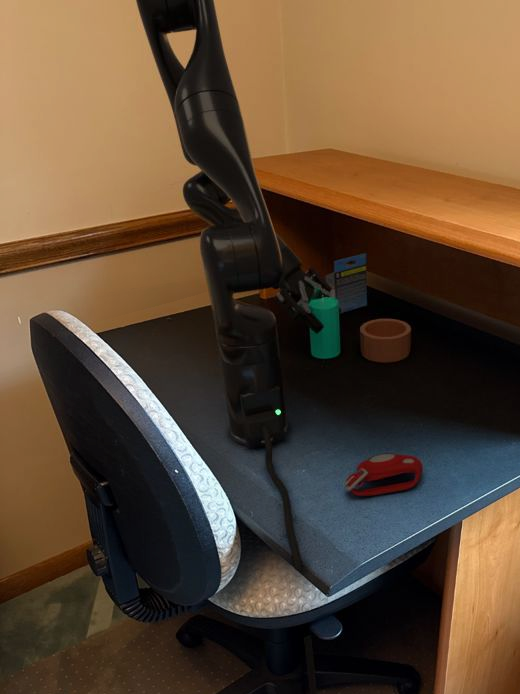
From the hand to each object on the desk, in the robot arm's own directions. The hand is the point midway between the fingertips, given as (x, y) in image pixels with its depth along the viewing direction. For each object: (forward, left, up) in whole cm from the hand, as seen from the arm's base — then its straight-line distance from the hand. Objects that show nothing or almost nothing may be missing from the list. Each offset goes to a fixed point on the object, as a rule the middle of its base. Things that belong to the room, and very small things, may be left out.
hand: (329, 322), depth 131 cm
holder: (-4, -10, -7) cm, 13 cm away
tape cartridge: (+21, -12, -7) cm, 25 cm away
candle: (+1, +1, -7) cm, 7 cm away
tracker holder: (-44, +10, -7) cm, 46 cm away
